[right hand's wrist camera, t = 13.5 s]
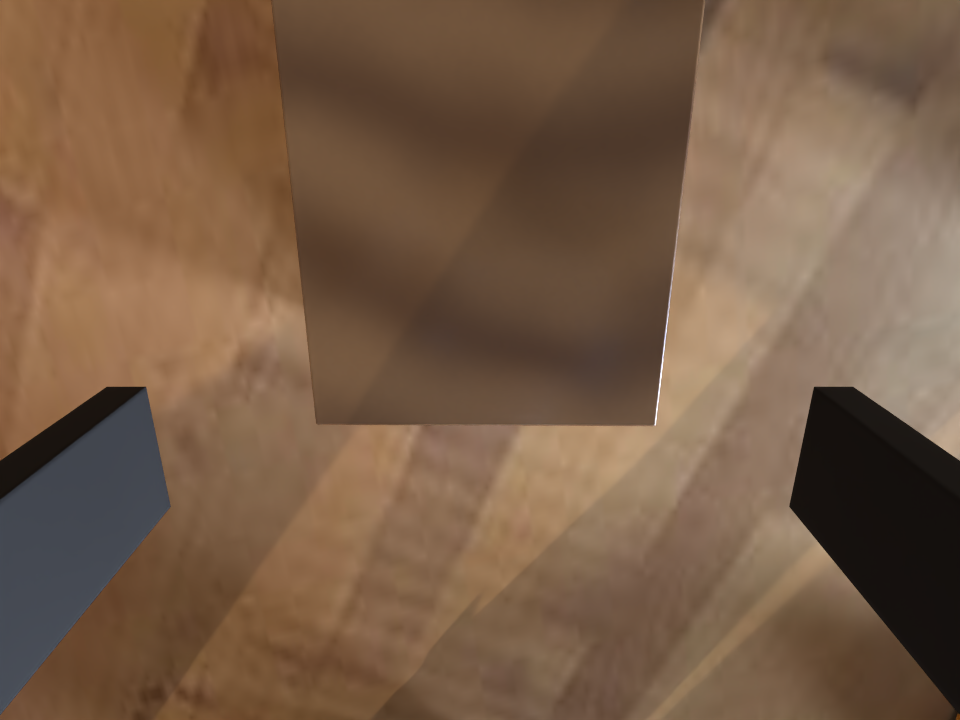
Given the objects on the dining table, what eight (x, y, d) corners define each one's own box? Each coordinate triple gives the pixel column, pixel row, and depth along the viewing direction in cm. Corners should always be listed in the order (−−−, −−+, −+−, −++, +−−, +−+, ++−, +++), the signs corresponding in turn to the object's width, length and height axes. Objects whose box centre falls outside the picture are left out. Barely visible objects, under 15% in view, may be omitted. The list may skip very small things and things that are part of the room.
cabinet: (331, -176, 23) (231, -371, 14) (643, -176, 23) (750, -373, 14) (366, 333, 30) (315, 425, 21) (604, 333, 30) (656, 427, 21)
